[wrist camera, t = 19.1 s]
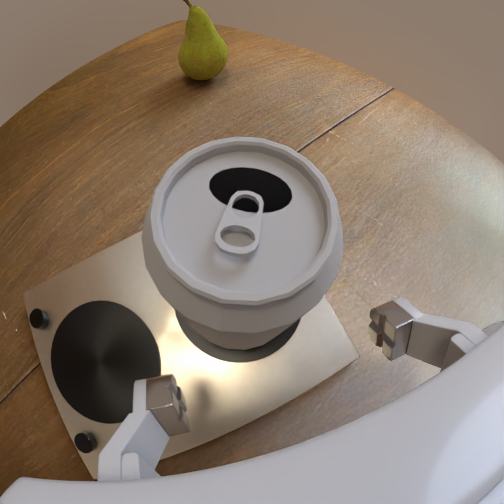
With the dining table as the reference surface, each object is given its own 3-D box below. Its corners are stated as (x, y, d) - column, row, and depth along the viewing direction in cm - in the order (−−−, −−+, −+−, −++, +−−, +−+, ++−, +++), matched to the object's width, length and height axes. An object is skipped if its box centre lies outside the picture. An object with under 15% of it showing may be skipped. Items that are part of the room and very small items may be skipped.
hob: (101, 474, 16) (89, 482, 14) (32, 297, 21) (17, 290, 19) (353, 357, 21) (365, 355, 19) (252, 191, 26) (254, 175, 24)
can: (300, 256, 22) (360, 144, 11) (283, 360, 19) (350, 347, 8) (199, 235, 22) (173, 109, 11) (172, 336, 19) (94, 290, 8)
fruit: (235, 69, 33) (238, -13, 22) (214, 94, 30) (212, 1, 19) (194, 62, 33) (189, -16, 22) (172, 85, 31) (160, -1, 20)
